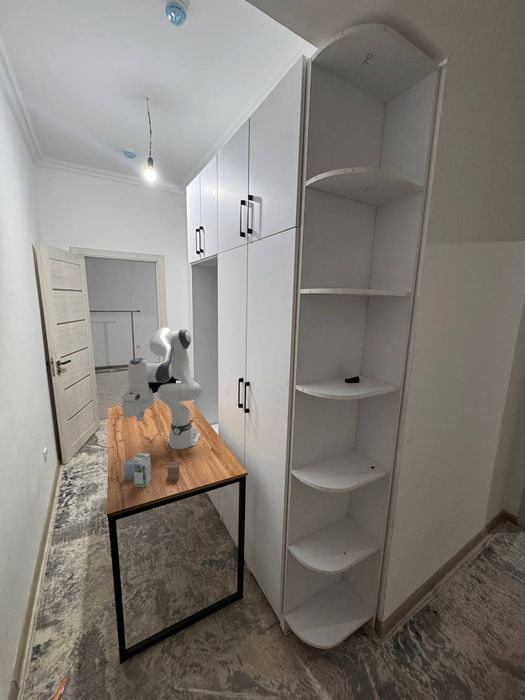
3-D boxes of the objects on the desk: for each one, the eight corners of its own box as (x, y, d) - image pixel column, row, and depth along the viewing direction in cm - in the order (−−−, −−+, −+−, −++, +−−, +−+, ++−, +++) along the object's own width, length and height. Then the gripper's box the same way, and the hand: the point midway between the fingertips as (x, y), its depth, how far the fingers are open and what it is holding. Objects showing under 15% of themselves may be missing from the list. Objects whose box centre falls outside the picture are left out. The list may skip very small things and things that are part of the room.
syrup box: (134, 486, 138) (132, 458, 135) (141, 479, 143) (139, 452, 141) (145, 487, 137) (143, 459, 135) (151, 480, 143) (150, 453, 140)
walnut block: (169, 474, 148) (168, 462, 146) (179, 474, 148) (179, 461, 147) (167, 480, 143) (167, 467, 142) (178, 479, 144) (177, 466, 142)
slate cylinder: (128, 474, 147) (128, 459, 146) (137, 475, 147) (136, 461, 145) (122, 480, 143) (121, 465, 141) (131, 481, 142) (130, 466, 140)
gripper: (146, 386, 149) (147, 412, 151) (118, 397, 129) (120, 427, 131) (157, 387, 148) (158, 413, 149) (131, 398, 128) (132, 428, 129)
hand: (140, 420), depth 140 cm, fingers closed
